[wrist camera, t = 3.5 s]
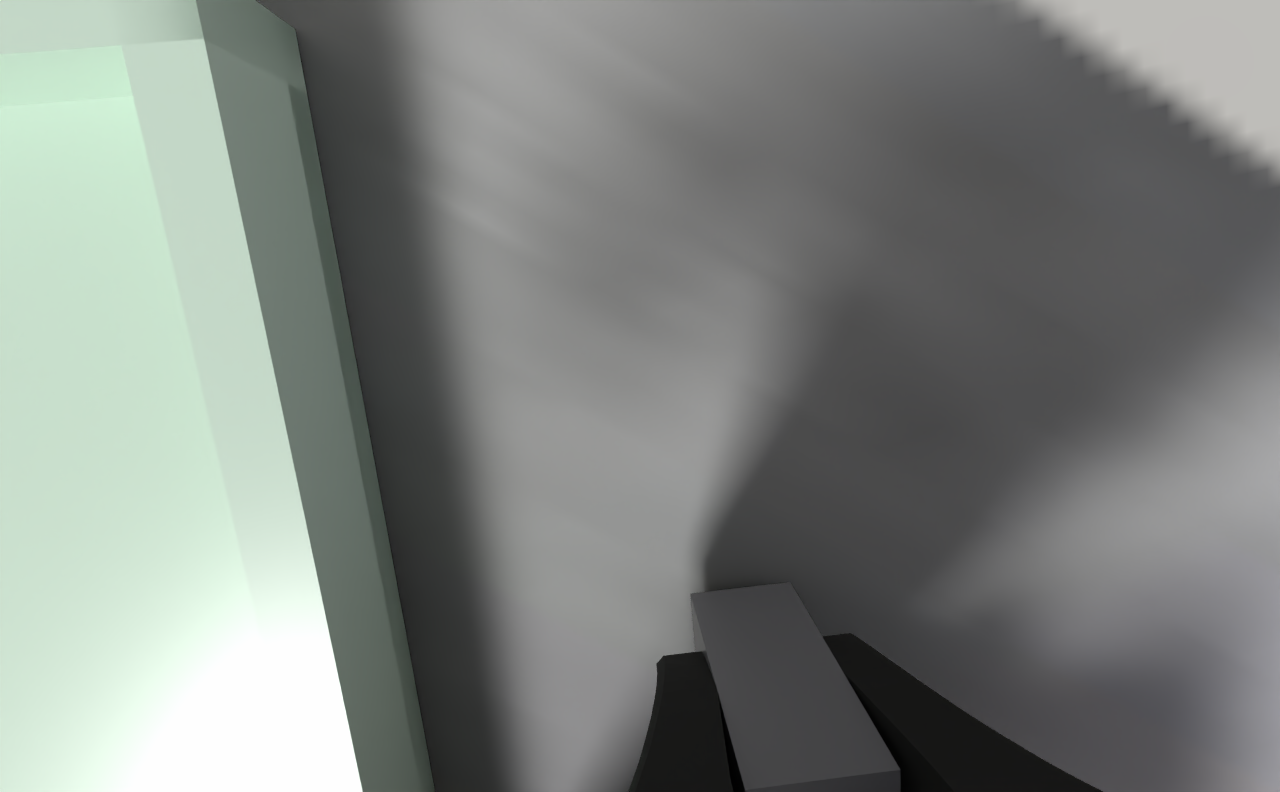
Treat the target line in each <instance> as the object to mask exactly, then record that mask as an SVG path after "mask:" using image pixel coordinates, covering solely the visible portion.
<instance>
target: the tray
mask: <svg viewBox="0 0 1280 792" xmlns="http://www.w3.org/2000/svg"><path fill="white" fill-rule="evenodd" d="M0 792H435V788H434V783H433V777H432V772H431V767H430V761H429V756H428V750H427V745H426V739H425V734H424V728H423V723H422V718H421V712H420V707H419V701H418V696H417V690H416V685H415V679H414V674H413V669H412V663H411V658H410V652H409V647H408V641H407V636H406V630H405V625H404V620H403V614H402V609H401V603H400V598H399V592H398V587H397V581H396V576H395V571H394V565H393V560H392V554H391V549H390V543H389V538H388V532H387V527H386V522H385V516H384V511H383V505H382V500H381V494H380V489H379V483H378V478H377V473H376V467H375V462H374V456H373V451H372V445H371V440H370V434H369V429H368V423H367V418H366V413H365V407H364V402H363V396H362V391H361V385H360V380H359V374H358V369H357V364H356V358H355V353H354V347H353V342H352V336H351V331H350V325H349V320H348V315H347V309H346V304H345V298H344V293H343V287H342V282H341V276H340V271H339V266H338V260H337V255H336V249H335V244H334V238H333V233H332V227H331V222H330V217H329V211H328V206H327V200H326V195H325V189H324V184H323V178H322V173H321V168H320V162H319V157H318V151H317V146H316V140H315V135H314V129H313V124H312V119H311V113H310V108H309V102H308V97H307V91H306V86H305V80H304V75H303V69H302V64H301V59H300V53H299V48H298V42H297V37H296V31H295V29H294V28H293V27H291V26H290V25H288V24H287V23H286V22H284V21H283V20H282V19H280V18H279V17H278V16H276V15H275V14H273V13H272V12H271V11H269V10H268V9H267V8H265V7H264V6H262V5H261V4H260V3H258V2H257V1H256V0H0Z"/></svg>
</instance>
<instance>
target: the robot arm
mask: <svg viewBox="0 0 1280 792" xmlns="http://www.w3.org/2000/svg"><path fill="white" fill-rule="evenodd" d="M823 639H824V640H825V642H826V644H827V645H828V647H829V649H830V651H831V652H832V654H833V656H834V657H835V659H836V661H837V663H838V664H839V666H840V668H841V669H842V671H843V673H844V674H845V676H846V678H847V680H848V681H849V683H850V685H851V686H852V688H853V690H854V691H855V693H856V695H857V697H858V698H859V700H860V702H861V703H862V705H863V707H864V709H865V710H866V712H867V714H868V715H869V717H870V719H871V720H872V722H873V724H874V726H875V727H876V729H877V731H878V732H879V734H880V736H881V737H882V739H883V741H884V743H885V744H886V746H887V748H888V749H889V751H890V753H891V755H892V756H893V758H894V760H895V761H896V763H897V765H898V766H899V768H900V779H901V792H1103V791H1101V790H1099V789H1097V788H1095V787H1093V786H1091V785H1089V784H1087V783H1085V782H1083V781H1081V780H1079V779H1077V778H1075V777H1073V776H1072V775H1070V774H1068V773H1066V772H1064V771H1062V770H1061V769H1059V768H1057V767H1055V766H1053V765H1052V764H1050V763H1048V762H1046V761H1044V760H1043V759H1041V758H1039V757H1038V756H1036V755H1034V754H1033V753H1031V752H1029V751H1028V750H1026V749H1024V748H1022V747H1021V746H1019V745H1017V744H1016V743H1014V742H1012V741H1011V740H1009V739H1007V738H1006V737H1004V736H1002V735H1001V734H999V733H997V732H996V731H994V730H993V729H991V728H989V727H988V726H986V725H985V724H983V723H982V722H980V721H978V720H977V719H975V718H974V717H972V716H971V715H969V714H967V713H966V712H964V711H963V710H961V709H960V708H958V707H957V706H955V705H954V704H952V703H951V702H949V701H948V700H946V699H945V698H943V697H942V696H940V695H939V694H937V693H936V692H935V691H933V690H932V689H930V688H929V687H927V686H926V685H924V684H923V683H922V682H920V681H919V680H917V679H916V678H914V677H913V676H912V675H910V674H909V673H907V672H906V671H904V670H903V669H902V668H900V667H899V666H897V665H896V664H895V663H893V662H892V661H890V660H889V659H888V658H886V657H885V656H883V655H882V654H881V653H879V652H878V651H876V650H875V649H874V648H872V647H871V646H869V645H868V644H866V643H865V642H863V641H862V640H861V639H859V638H858V637H856V636H854V635H853V634H851V633H849V634H840V635H832V636H824V637H823ZM629 792H733V788H732V783H731V778H730V772H729V765H728V759H727V752H726V745H725V739H724V732H723V726H722V719H721V712H720V706H719V699H718V693H717V687H716V685H715V682H714V679H713V676H712V674H711V671H710V668H709V665H708V663H707V661H706V658H705V656H704V654H703V652H702V651H700V652H692V653H684V654H675V655H667V656H663V657H662V658H661V659H660V660H659V662H658V663H657V686H656V694H655V700H654V705H653V711H652V716H651V720H650V724H649V727H648V731H647V735H646V739H645V743H644V746H643V750H642V754H641V757H640V760H639V764H638V766H637V769H636V772H635V775H634V778H633V781H632V784H631V786H630V789H629Z"/></svg>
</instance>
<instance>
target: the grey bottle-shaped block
mask: <svg viewBox="0 0 1280 792" xmlns="http://www.w3.org/2000/svg"><path fill="white" fill-rule="evenodd" d="M690 595H691V607H692V619H693V631H694V644H695V652H700V651H702V652H703V654H704V656H705V658H706V661H707V663H708V665H709V668H710V671H711V674H712V676H713V679H714V682H715V685H716V687H717V693H718V699H719V706H720V712H721V719H722V726H723V732H724V739H725V745H726V752H727V759H728V765H729V772H730V778H731V783H732V788H733V792H901V779H900V768H899V766H898V765H897V763H896V761H895V760H894V758H893V756H892V755H891V753H890V751H889V749H888V748H887V746H886V744H885V743H884V741H883V739H882V737H881V736H880V734H879V732H878V731H877V729H876V727H875V726H874V724H873V722H872V720H871V719H870V717H869V715H868V714H867V712H866V710H865V709H864V707H863V705H862V703H861V702H860V700H859V698H858V697H857V695H856V693H855V691H854V690H853V688H852V686H851V685H850V683H849V681H848V680H847V678H846V676H845V674H844V673H843V671H842V669H841V668H840V666H839V664H838V663H837V661H836V659H835V657H834V656H833V654H832V652H831V651H830V649H829V647H828V645H827V644H826V642H825V640H824V639H823V637H822V635H821V634H820V632H819V630H818V628H817V627H816V625H815V623H814V622H813V620H812V618H811V617H810V615H809V613H808V611H807V610H806V608H805V606H804V605H803V603H802V601H801V599H800V598H799V596H798V594H797V593H796V591H795V589H794V588H793V586H792V584H791V582H786V583H777V584H769V585H760V586H752V587H743V588H735V589H726V590H718V591H709V592H701V593H692V594H690Z"/></svg>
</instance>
